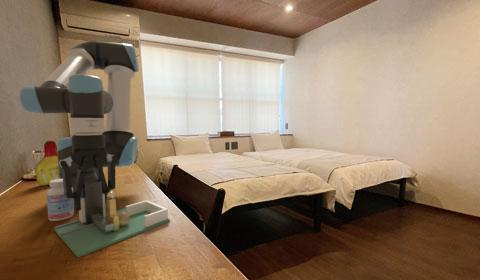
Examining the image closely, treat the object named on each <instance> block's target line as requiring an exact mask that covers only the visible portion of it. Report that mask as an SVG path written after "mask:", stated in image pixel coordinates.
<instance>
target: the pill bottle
mask: <svg viewBox="0 0 480 280" xmlns="http://www.w3.org/2000/svg"><path fill="white" fill-rule="evenodd" d="M49 187H50V188H49V189H48V190H47V191H46V202H47V218H48V220H49V221H50V222H60V221H64V220H67V219H68V220H69V219H70V218H72V217H73V216H74V214H75V209H74V200H73V198H67V197H66V196H65V195H64V186H63V179H56V180H52V181H50V182H49ZM72 193H73V188H72Z"/></svg>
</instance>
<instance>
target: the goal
mask: <svg viewBox="0 0 480 280" xmlns="http://www.w3.org/2000/svg"><path fill="white" fill-rule="evenodd" d="M124 207H125V209H126V212H127V213H128V214H129V215H133V214H136V213H140V212H143V211H148V212H150V213H151V214H148V215H145V216H144V226H145V227H148V226H151V225H153V224H156V223H158V222H161V221H164V220H166V219H169V209H168V208H166V207H164V206H162V205H159V204H157V203H154V202H152V201H150V200H147V199H146V200H142V201H139V202H135V203H132V204H129V205H125V206H124Z"/></svg>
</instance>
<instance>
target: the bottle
mask: <svg viewBox="0 0 480 280" xmlns="http://www.w3.org/2000/svg"><path fill="white" fill-rule="evenodd" d="M43 147H44V148H43V149H44V153H43V154H44V155H43V158H41V159H40V160H39V161H38V162H37V164H36V165H35V168H34V169H35V170H34V171H35V173H34V174H35V178H36V181H37V185H39V186H47V185H50V184H49V182H50V181H52V180H56V179H59V170H58V156H57V142H56V141H54V140H47V141H45V143H44V145H43Z"/></svg>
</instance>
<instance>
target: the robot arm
mask: <svg viewBox="0 0 480 280" xmlns="http://www.w3.org/2000/svg"><path fill="white" fill-rule="evenodd" d="M138 63H139V62H138V58H137V54H136V49H135V46H133V45H132V44H130V43H124V42H122V43H119V42H112V41H111V42H110V41H102V40H88V41H87V40H86V41H84V42H81V43H79V44H77V45H75V46H73V47H72V48H70V49H69V50H68V51H67V52H66V54H65V59H64V60H63V61H62V62H61V63H60V64H59V65H58V66H57V67H56V68H55V70H54V71H53V72H51V74H50V75H49V76H48V77H47V78H45V80H44V81H43V82H42V83H41V84H40V86H35V85H33V86H30V85H29V86H24V87H22V88H21V90H20V91H19V102H20V104H21V106H22V108H23V109H24V110H25V111H26V112H28V113H35V114H36V113H37V114H43V115H44V114H70V115H69V116H70V132H71V134H73V135H71V136H70V137H69V136H68V137H61V138H60V139H58V141H57V142H56V146H57V156H58V170H59V179H63V186H64V195H65V196H66V197H67V198H73V200H74V211H76V212H77V211H78V220H80V221H81V222H82V223H84V222H86V217H85V198H84V197H82V196H81V194H82V189H83V184H84V181H88V180H94V179H97V180H100V181H102V198H103V217H105V216H106V212H107V211H106V205H107V202H106V198H107V193H108V192H111V191H112V190H115V189H116V167H119V168H122V167H128V166H132V165H133V164H134V163H135V161H136V158H137V154H138V149H139V147H138V143H139V142H138V141H139V140H138V138H137V137H135V136H134V135H135V134H134V132H133V131H132V130H131V128H130V126H131V125H130V124H131V84H132V83H131V81H132V80H131V79H133V78H134V77H135V73H138V72H139V64H138ZM93 70H101V71H104V73H105V74H106V76H107V90H104V85H103V80H102V79H101V78H100V77H98V76H95V75H91V74H90V75H89V74H87V73H90V72H92V71H93ZM105 115H106V119H105ZM104 168H107V180H106V176H105V173H104ZM72 188H73V193H72Z"/></svg>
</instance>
